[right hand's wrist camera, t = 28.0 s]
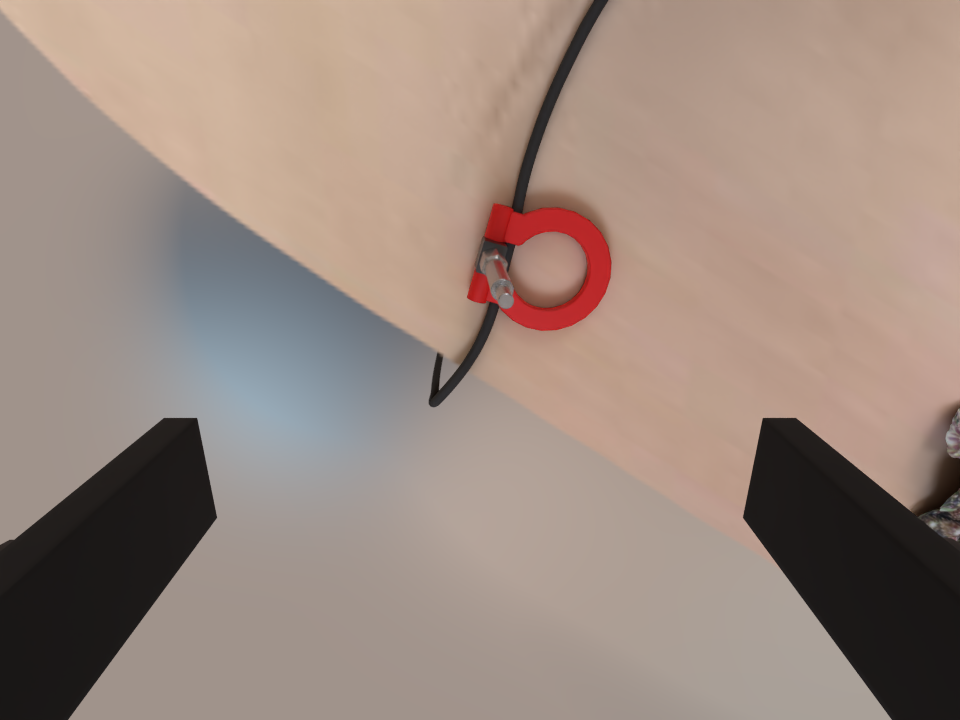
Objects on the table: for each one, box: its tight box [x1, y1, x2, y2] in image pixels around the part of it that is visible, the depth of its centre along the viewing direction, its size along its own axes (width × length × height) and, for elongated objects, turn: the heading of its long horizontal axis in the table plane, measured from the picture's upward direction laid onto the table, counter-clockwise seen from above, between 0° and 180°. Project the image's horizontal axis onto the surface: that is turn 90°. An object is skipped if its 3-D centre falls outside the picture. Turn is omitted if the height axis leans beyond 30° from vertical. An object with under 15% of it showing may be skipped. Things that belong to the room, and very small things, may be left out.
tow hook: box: [467, 203, 611, 331], centre depth 32 cm, size 8×13×9 cm
